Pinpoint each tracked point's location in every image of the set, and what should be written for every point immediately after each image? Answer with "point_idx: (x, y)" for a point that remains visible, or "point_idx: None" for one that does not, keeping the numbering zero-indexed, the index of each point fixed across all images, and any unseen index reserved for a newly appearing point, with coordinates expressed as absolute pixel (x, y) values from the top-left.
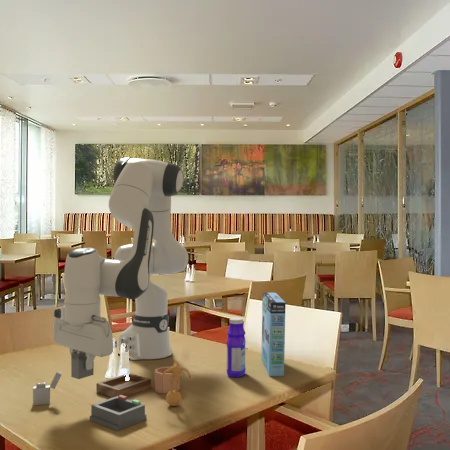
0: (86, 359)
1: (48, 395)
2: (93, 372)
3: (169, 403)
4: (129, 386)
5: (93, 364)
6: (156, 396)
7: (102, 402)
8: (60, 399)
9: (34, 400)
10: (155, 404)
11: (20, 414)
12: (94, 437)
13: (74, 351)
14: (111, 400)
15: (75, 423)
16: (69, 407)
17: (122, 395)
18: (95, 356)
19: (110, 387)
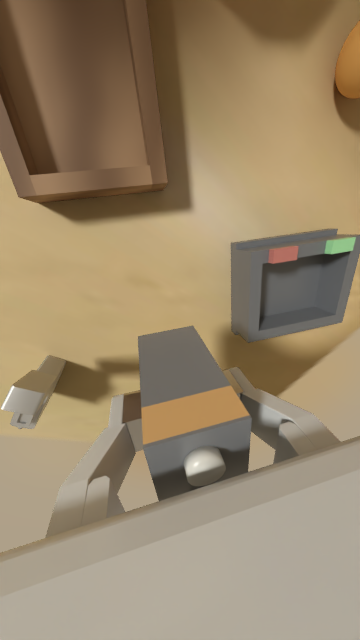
0: (266, 441)
1: (57, 377)
2: (195, 330)
3: (356, 98)
4: (157, 99)
5: (209, 352)
6: (239, 31)
7: (256, 314)
8: (46, 329)
9: (49, 398)
10: (288, 119)
11: (100, 420)
12: (296, 354)
13: (122, 507)
14: (260, 284)
15: (222, 357)
16: (127, 333)
17: (280, 249)
18: (305, 411)
19: (117, 185)
